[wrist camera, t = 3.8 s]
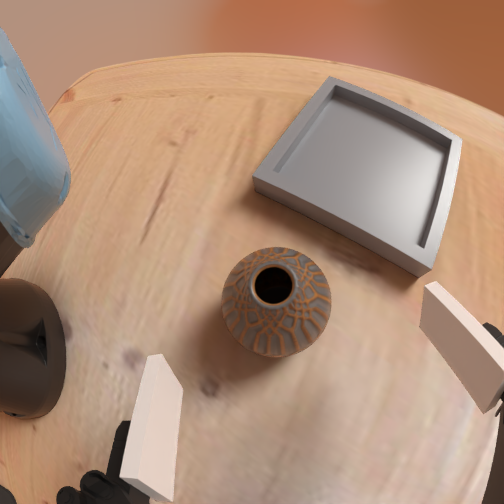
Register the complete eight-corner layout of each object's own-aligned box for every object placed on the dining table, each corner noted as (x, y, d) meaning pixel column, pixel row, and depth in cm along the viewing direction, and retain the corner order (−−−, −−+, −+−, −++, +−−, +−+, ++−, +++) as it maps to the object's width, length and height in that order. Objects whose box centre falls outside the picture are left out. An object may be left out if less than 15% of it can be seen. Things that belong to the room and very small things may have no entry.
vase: (254, 371, 21) (235, 382, 12) (219, 290, 23) (182, 252, 15) (338, 331, 21) (371, 316, 13) (298, 253, 23) (304, 197, 15)
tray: (255, 191, 26) (252, 175, 23) (327, 92, 29) (329, 76, 27) (418, 277, 21) (431, 269, 19) (453, 152, 25) (462, 139, 23)
